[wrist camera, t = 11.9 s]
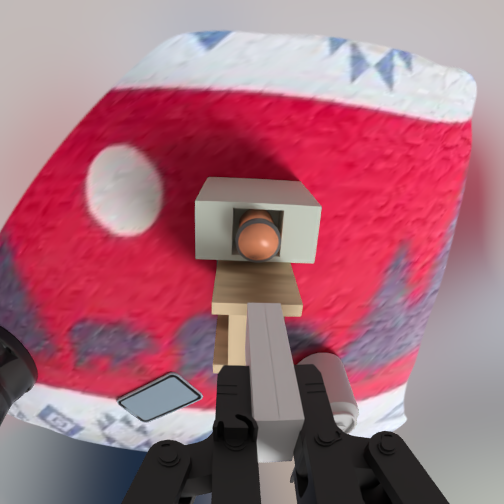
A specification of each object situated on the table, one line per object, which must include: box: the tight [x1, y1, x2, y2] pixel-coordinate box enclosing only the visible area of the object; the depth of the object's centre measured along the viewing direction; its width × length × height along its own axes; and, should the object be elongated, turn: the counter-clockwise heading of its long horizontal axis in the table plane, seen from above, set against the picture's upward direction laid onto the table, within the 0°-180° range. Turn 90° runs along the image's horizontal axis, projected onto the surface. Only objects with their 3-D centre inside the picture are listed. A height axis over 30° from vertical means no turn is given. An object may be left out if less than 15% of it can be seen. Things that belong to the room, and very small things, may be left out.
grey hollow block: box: [195, 177, 322, 263], centre depth 31 cm, size 10×5×10 cm, turn 87°
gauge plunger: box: [236, 209, 281, 263], centre depth 26 cm, size 3×3×4 cm
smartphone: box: [117, 372, 203, 423], centre depth 48 cm, size 7×1×15 cm
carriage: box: [212, 260, 303, 373], centre depth 30 cm, size 7×7×14 cm
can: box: [297, 353, 359, 434], centre depth 40 cm, size 8×8×12 cm
